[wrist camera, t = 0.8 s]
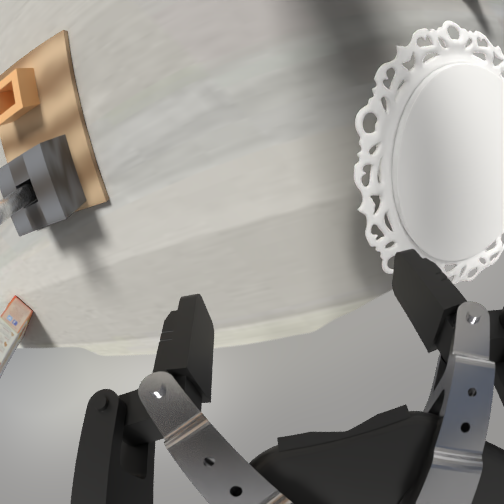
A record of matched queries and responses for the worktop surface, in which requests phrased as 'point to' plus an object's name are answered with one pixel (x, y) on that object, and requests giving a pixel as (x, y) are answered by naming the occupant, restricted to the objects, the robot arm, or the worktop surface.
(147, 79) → the worktop surface
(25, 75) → the block
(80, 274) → the worktop surface
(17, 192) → the steel shaft
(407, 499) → the robot arm
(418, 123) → the white openwork bowl
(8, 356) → the cracker box
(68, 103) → the bearing block
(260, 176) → the worktop surface
